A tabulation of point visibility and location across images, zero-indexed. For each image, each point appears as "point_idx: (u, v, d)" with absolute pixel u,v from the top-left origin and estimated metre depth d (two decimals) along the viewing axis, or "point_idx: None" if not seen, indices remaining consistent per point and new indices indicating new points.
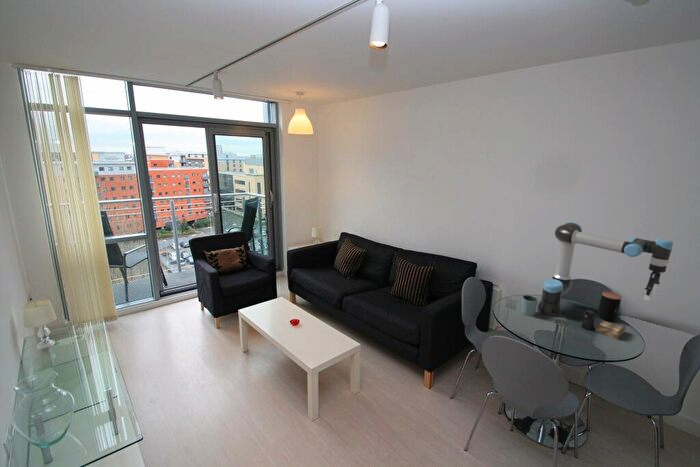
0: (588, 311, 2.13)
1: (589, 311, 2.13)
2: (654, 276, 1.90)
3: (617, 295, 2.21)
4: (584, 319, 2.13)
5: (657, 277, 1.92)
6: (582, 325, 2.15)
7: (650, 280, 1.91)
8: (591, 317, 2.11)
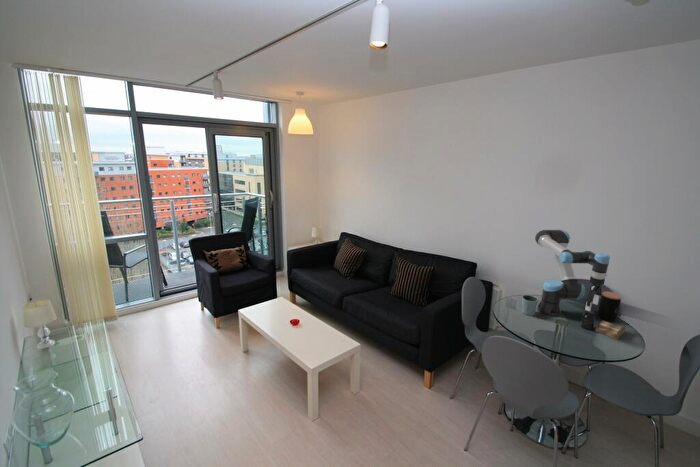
0: (588, 311, 2.13)
1: (589, 311, 2.13)
2: (593, 288, 2.03)
3: (617, 295, 2.21)
4: (584, 319, 2.13)
5: (596, 289, 2.05)
6: (582, 325, 2.15)
7: (590, 292, 2.04)
8: (591, 317, 2.11)
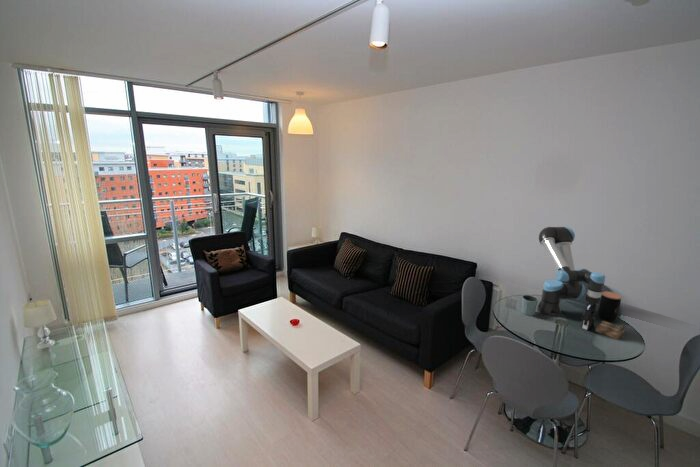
0: None
1: None
2: (588, 309, 2.07)
3: (617, 295, 2.21)
4: None
5: (592, 308, 2.09)
6: (582, 325, 2.15)
7: (586, 312, 2.09)
8: (591, 317, 2.11)
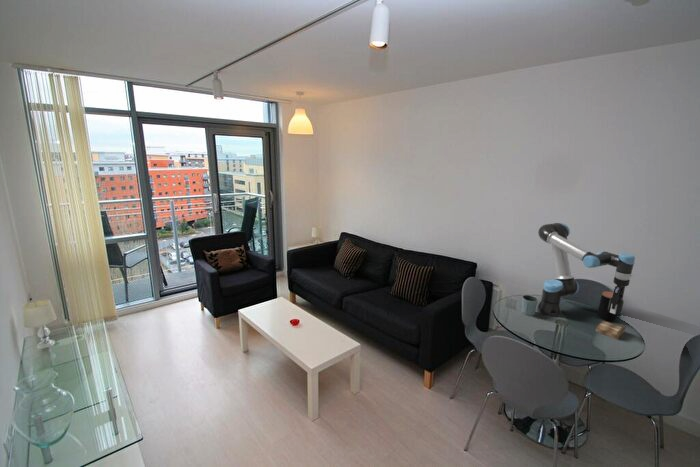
0: None
1: None
2: (617, 291, 1.98)
3: None
4: None
5: (621, 291, 2.00)
6: (609, 309, 2.06)
7: (614, 295, 1.99)
8: (619, 300, 2.01)
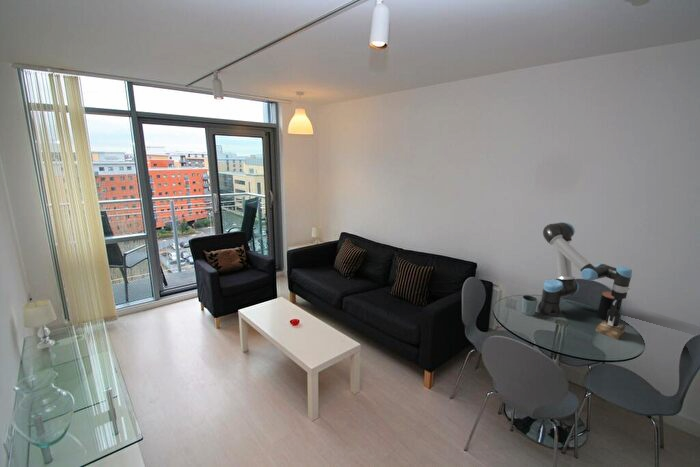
0: None
1: None
2: (615, 304, 2.00)
3: None
4: None
5: (618, 303, 2.02)
6: (607, 321, 2.08)
7: (612, 307, 2.02)
8: (617, 313, 2.04)
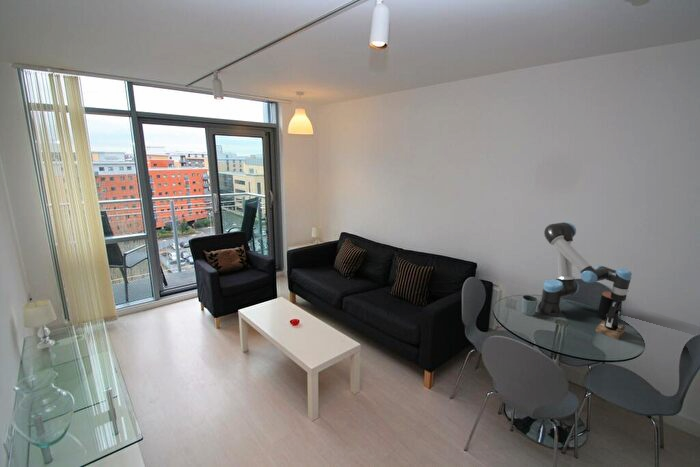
0: None
1: None
2: (614, 305, 2.00)
3: None
4: None
5: (618, 305, 2.02)
6: None
7: (611, 308, 2.01)
8: (615, 317, 2.04)
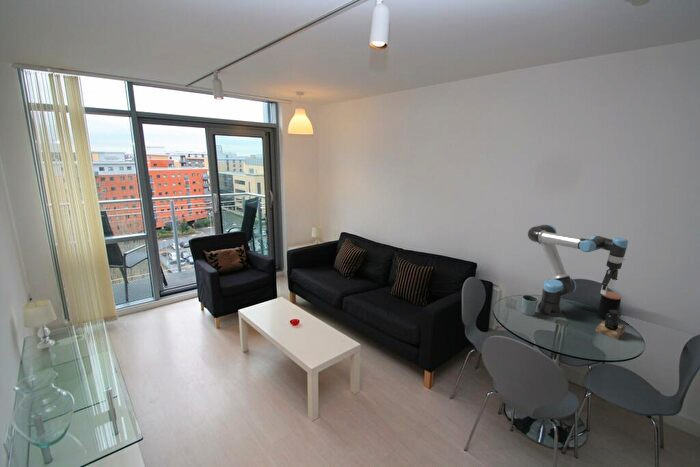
0: (612, 311, 2.06)
1: (613, 311, 2.06)
2: (609, 272, 2.03)
3: (617, 295, 2.21)
4: (608, 319, 2.07)
5: (613, 273, 2.05)
6: (606, 325, 2.09)
7: (606, 276, 2.04)
8: (615, 317, 2.04)
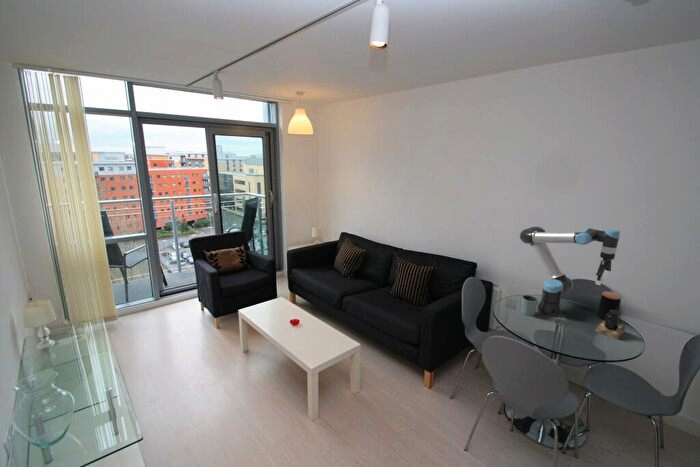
0: (612, 311, 2.06)
1: (613, 311, 2.06)
2: (603, 263, 2.08)
3: (617, 295, 2.21)
4: (608, 319, 2.07)
5: (607, 264, 2.10)
6: (606, 325, 2.09)
7: (600, 266, 2.09)
8: (615, 317, 2.04)
